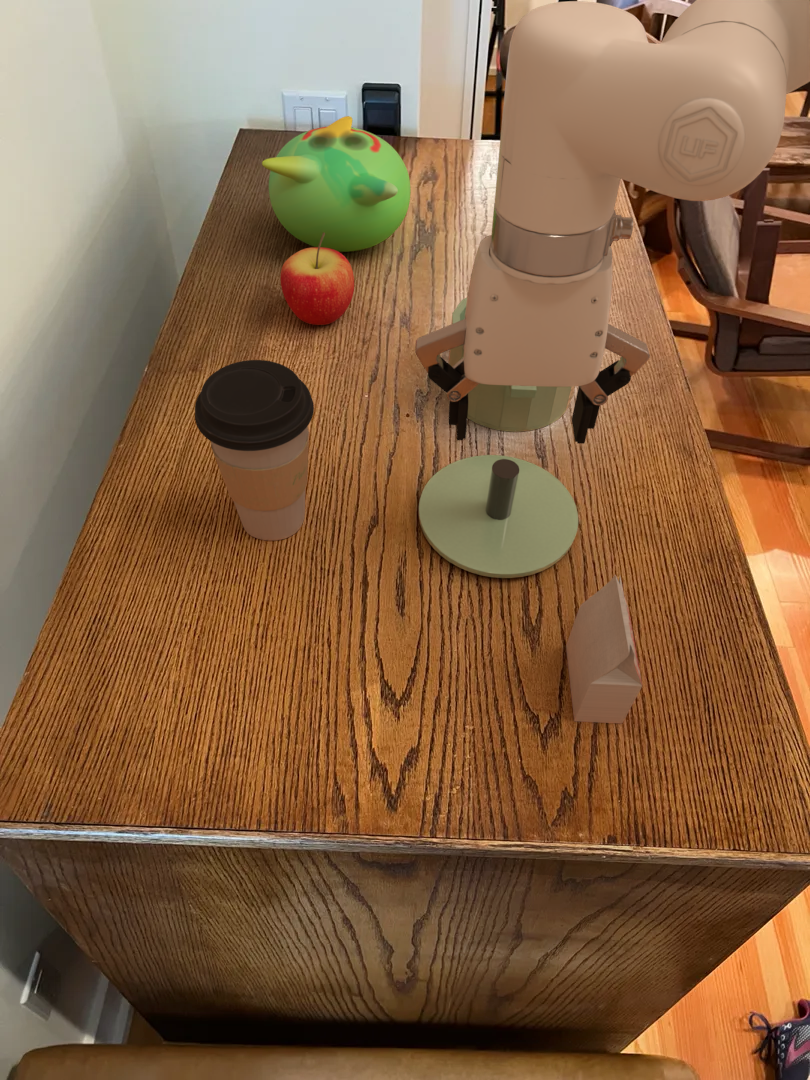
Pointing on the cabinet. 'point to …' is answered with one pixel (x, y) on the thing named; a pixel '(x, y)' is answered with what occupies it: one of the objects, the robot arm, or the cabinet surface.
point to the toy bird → (339, 187)
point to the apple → (317, 284)
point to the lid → (498, 516)
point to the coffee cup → (260, 442)
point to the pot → (511, 398)
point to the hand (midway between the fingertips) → (519, 430)
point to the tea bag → (603, 658)
